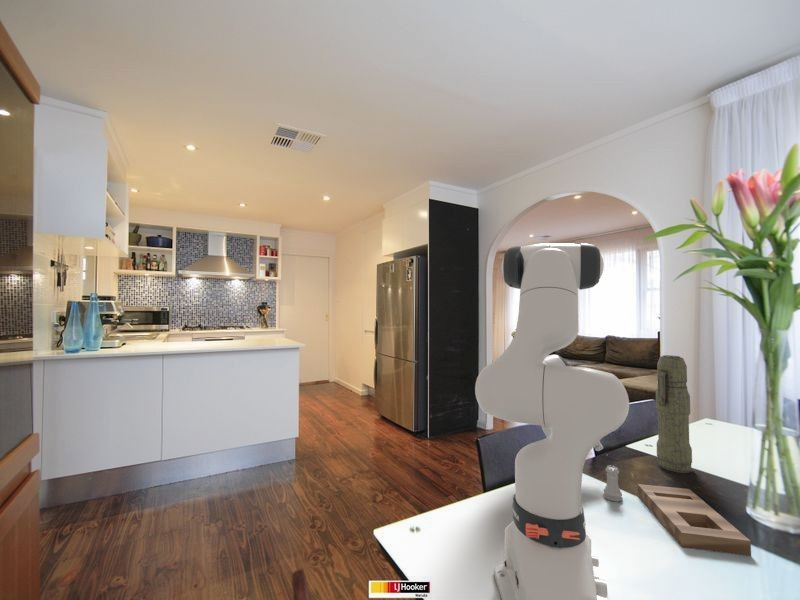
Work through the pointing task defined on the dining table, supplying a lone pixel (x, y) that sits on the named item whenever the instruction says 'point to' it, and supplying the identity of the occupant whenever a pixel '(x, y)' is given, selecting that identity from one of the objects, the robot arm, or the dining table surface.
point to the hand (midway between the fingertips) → (589, 452)
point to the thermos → (673, 415)
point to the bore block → (693, 520)
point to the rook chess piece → (612, 485)
